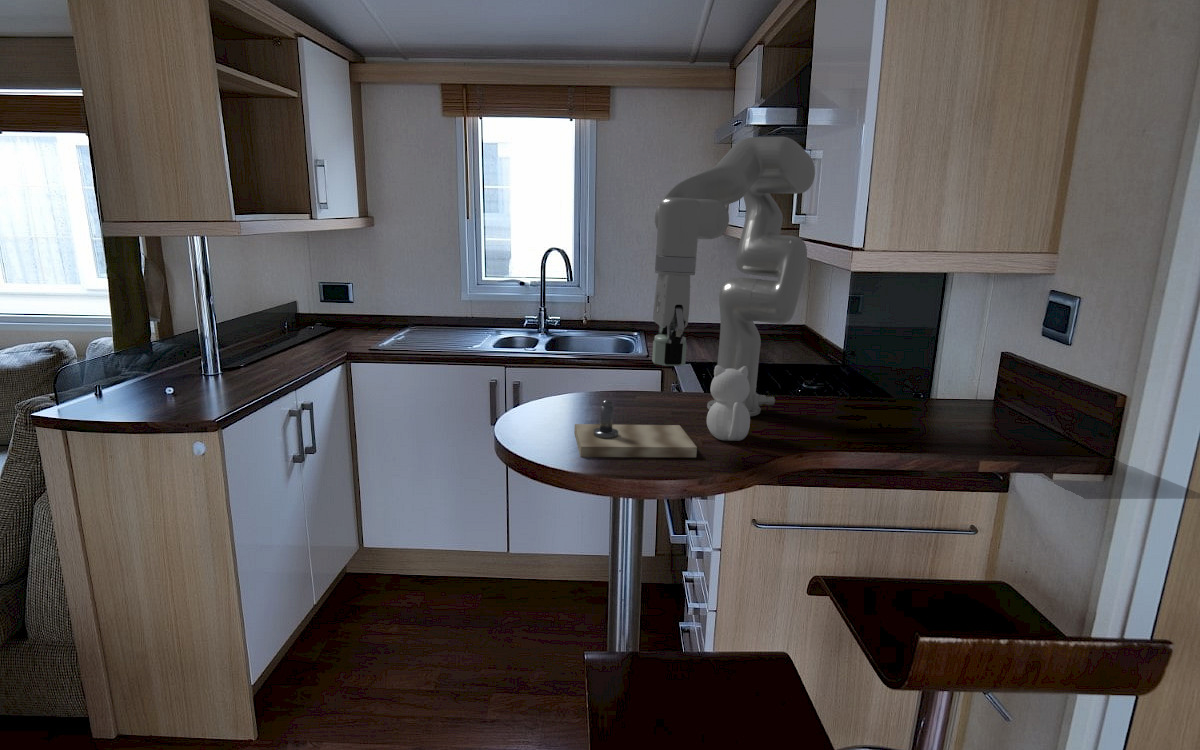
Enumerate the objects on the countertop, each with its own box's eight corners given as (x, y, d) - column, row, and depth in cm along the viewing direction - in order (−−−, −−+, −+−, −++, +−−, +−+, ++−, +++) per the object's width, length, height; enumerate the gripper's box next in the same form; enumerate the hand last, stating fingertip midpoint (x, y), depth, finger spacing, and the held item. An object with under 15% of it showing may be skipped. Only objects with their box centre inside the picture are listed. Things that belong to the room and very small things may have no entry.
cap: (680, 359, 131) (681, 334, 130) (687, 366, 125) (689, 340, 124) (650, 359, 130) (651, 334, 129) (656, 365, 125) (658, 339, 124)
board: (678, 434, 139) (679, 425, 138) (696, 457, 125) (697, 447, 125) (574, 433, 136) (574, 424, 136) (580, 456, 123) (581, 446, 122)
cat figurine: (740, 429, 145) (746, 362, 142) (758, 447, 132) (765, 374, 129) (699, 429, 144) (705, 361, 141) (714, 447, 132) (721, 373, 129)
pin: (616, 431, 132) (618, 396, 131) (619, 439, 128) (621, 402, 126) (592, 431, 132) (593, 396, 130) (594, 438, 127) (596, 402, 125)
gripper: (646, 262, 132) (641, 351, 136) (665, 268, 115) (658, 370, 119) (683, 263, 133) (677, 352, 137) (707, 270, 116) (699, 370, 120)
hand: (668, 359), depth 128 cm, fingers closed on cap, 6 cm apart
